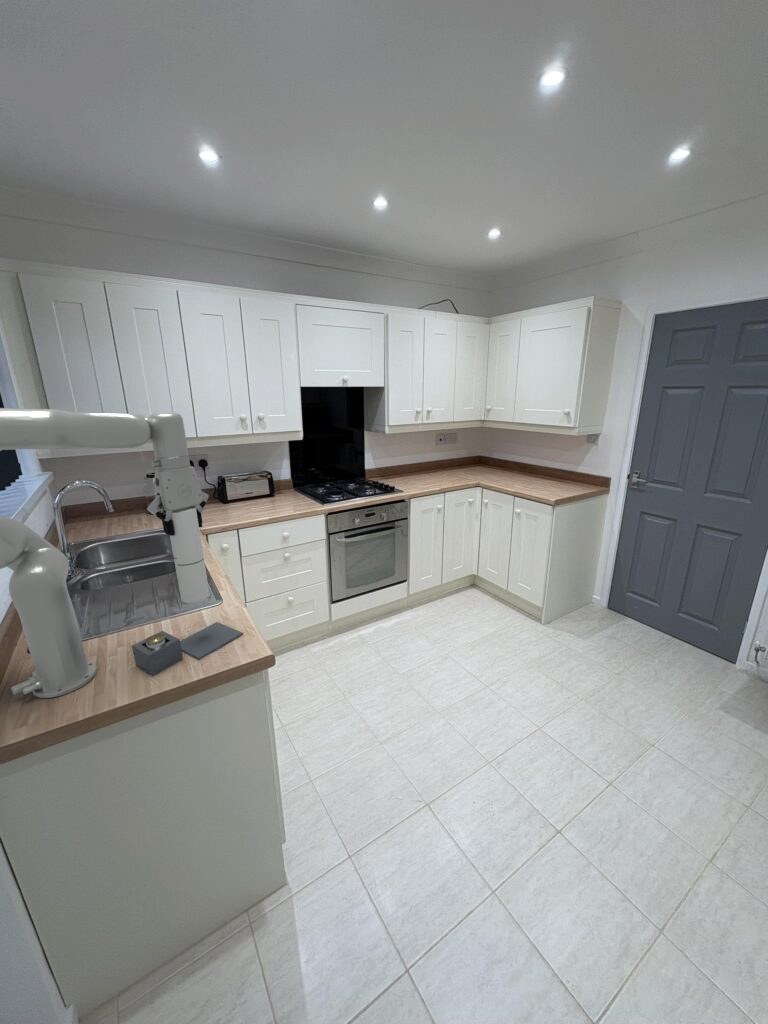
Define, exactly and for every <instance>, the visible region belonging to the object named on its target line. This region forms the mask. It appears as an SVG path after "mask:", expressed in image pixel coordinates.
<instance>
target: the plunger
mask: <svg viewBox="0 0 768 1024" xmlns="http://www.w3.org/2000/svg"><path fill="white" fill-rule="evenodd" d="M145 639H146V645H147V648H148V649H150V650H153V649H155V648H157V647H159V646H161V645H163V644H165V643H166V642H165V637H164V635H163V634H157V633H155V634H153V635H151V636H148V637H147V638H145Z"/></svg>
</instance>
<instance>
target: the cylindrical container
mask: <svg viewBox="0 0 768 1024" xmlns="http://www.w3.org/2000/svg"><path fill="white" fill-rule="evenodd" d="M170 520H172V521H173V526H174V532H175V535H173V536H171V535H169V539H170V544H171V550H172V556H173V561H174V566H175V567H174V568H175V572H176V577H177V582H178V589H179V594H180V601H181V602H183V603H187V604H192V603H198V602H200V601H204V600H206V599H208V598H209V596H210V589H209V588H210V587H209V582H208V577H207V571H206V563H205V557H204V550H203V545H202V544H203V543H202V537H201V531H200V527H199V524H198V518H197V511H196V507H194V506H190V507H186V508H182V509H178V510H174V511H172V514H171V517H170Z"/></svg>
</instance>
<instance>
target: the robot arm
mask: <svg viewBox="0 0 768 1024" xmlns="http://www.w3.org/2000/svg"><path fill="white" fill-rule="evenodd" d="M184 425H185V424H184V418H183V417H182V415H181V414H179V413H177V412H158V413H152V414H144V413H143V414H140V413H130V412H128V413H126V412H125V413H109V412H108V413H102V412H101V413H100V412H99V413H98V412H96V413H95V412H78V411H77V412H74V411H67V410H63V409H53V408H12V407H0V452H1V451H4V450H5V451H9V450H11V451H13V450H76V449H135V448H139V447H142V446H144V445H145V444H146V443H152V448H153V453H154V461H150V466H151V468H155V469H156V470H155V471H154V493H155V494H154V495H155V498H154V499H153V500H152V502H151V503H150V504H149V505H148V506H147V508H146V510H147V511H148V512H149V513H151V514H152V515H153V516H154V517H156V518H158V519H159V520H160V521H162V522H161V523H162V529H163V532H164V533H165V534H166V535H168V536H170V535H171V536H173V535H175V532H174V526H173V521H172V520H170V517H171V514H172V511H174V510H178V509H182V508H186V507H190V506H194V507H196V511H197V518H198V524H199V528H203V517H202V512H203V511H204V507H205V506H206V502H207V501H208V499H209V497H210V496H209V494H208V493H206V492H204V491H203V490H202V489H201V485H200V481H199V478H198V475H197V472H196V469H195V467H194V466H192V465H191V463H190V462H191V461H190V457H189V451H188V443H187V438H186V437H187V436H186V430H185V426H184ZM158 508H159V509H161V510H160V511H159V510H158ZM5 568H8V569H10V570H12V571H13V572H12V574H11V576H10V578H9V581H8V582H9V583H8V592H9V597H10V598H11V601H12V604H13V605H14V607H15V609H16V612H17V614H18V616H19V620H20V622H21V626H22V630H23V633H24V636H25V639H26V642H27V647H28V650H29V653H30V657H31V660H32V664H33V667H34V671H31V675H32V676H30V677H28V678H27V680H25V681H24V682H20V683H18V684H16V685H13V686H11V687H10V691H11V692H12V694H13V696H16V695H17V694H20V693H23V694H24V695H25V696H26V695H28V694H29V693H32V695H33V696H34V697H36V698H39V699H48V698H49V699H50V698H56V697H60V696H65V695H66V694H69V693H72V692H74V691H76V690H78V689H80V688H81V687H83V686H85V685H87V684H88V683H89V682H90V681H91V680H93V678H94V677H95V676H96V674H97V673H98V672H97V671H98V667H97V665H96V664H95V662H92V661H89V660H87V657H86V651H85V647H84V644H83V640H82V636H81V633H80V628H79V625H78V621H77V616H76V613H75V609H74V606H73V601H72V600H71V597H70V594H69V590H68V585H67V579H68V575H69V570H70V563H69V560H68V557H67V556H66V555H65V554H64V553H63V551H61V550H59V548H57V547H56V546H54V545H53V544H52V543H50V542H49V541H48V540H46V539H45V538H44V537H42V535H40V534H38V533H37V532H35V531H34V530H33V529H32V528H30V527H29V526H28V525H26V524H24V523H22V522H20V521H19V520H15V519H12V518H9V517H0V570H1V569H5Z"/></svg>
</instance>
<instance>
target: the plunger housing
mask: <svg viewBox="0 0 768 1024" xmlns="http://www.w3.org/2000/svg"><path fill="white" fill-rule="evenodd" d="M156 634H163V635H164V637H165V642H166V643H165V644H163V645H161V646H159V647H157V648H155V649H153V650H150V649H148V648H147V645H146V639H147V638H144V639H143V640H140V641H138V642H136V643H134V644H132V645H131V648H132V649H131V650H132V653H133V654H132V655H133V659H134V664H135V667H136V668H139V669H140V670H142V671H143V672H144V673H146V674H148V675H150V676H151V677H155V676H156V675H159V674H160V673H162V672H164V671H165V670H167V669H168V668H171V667H172V666H175V665H176V664H178V663H180V662H181V661H183V660H184V657H183V651H182V650H181V644H180V641H181V639H180V638H178V637H176V636H174V635H172V634H170V633H168V632H166V631H164V630H161V631H159V632H157V633H156Z"/></svg>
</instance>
